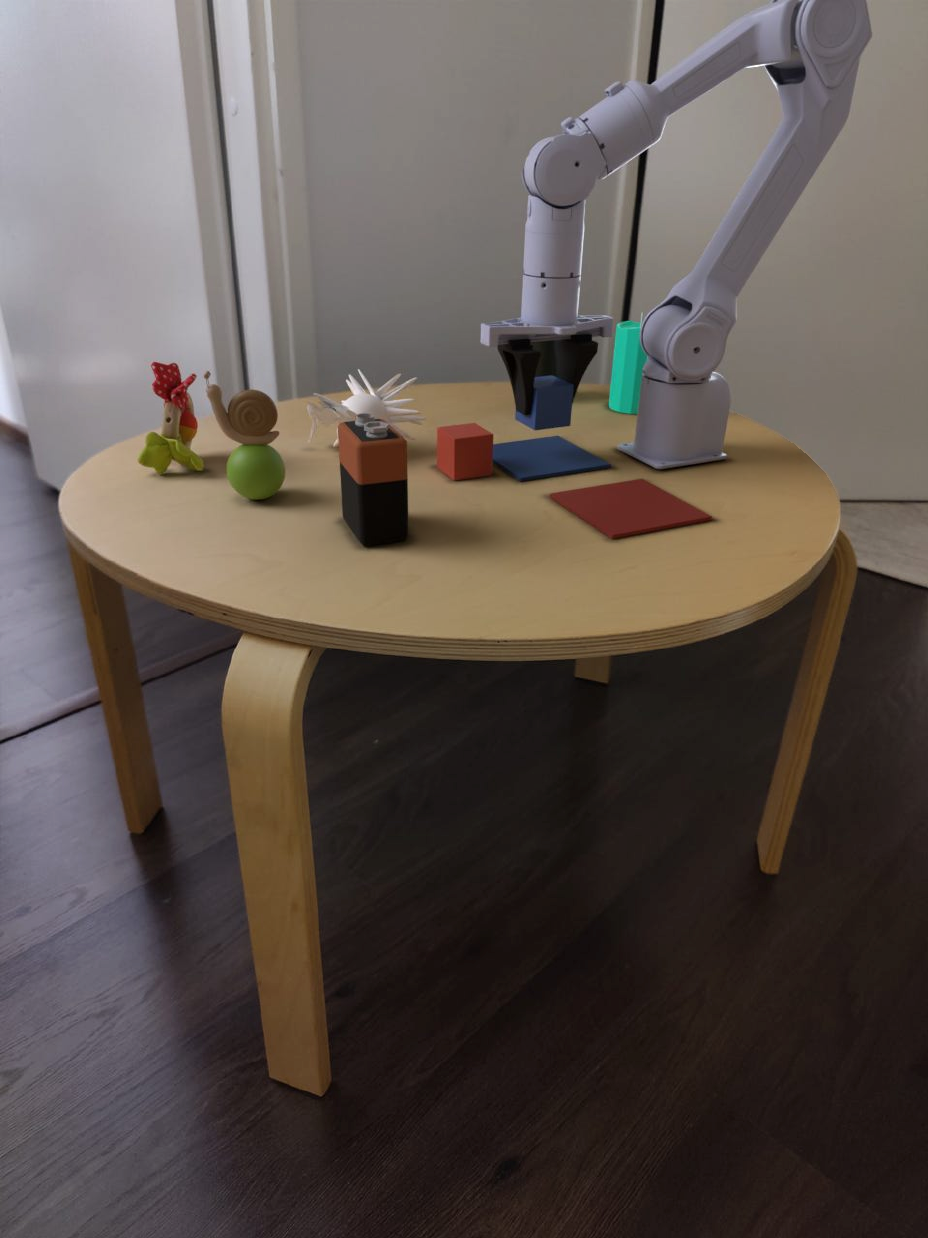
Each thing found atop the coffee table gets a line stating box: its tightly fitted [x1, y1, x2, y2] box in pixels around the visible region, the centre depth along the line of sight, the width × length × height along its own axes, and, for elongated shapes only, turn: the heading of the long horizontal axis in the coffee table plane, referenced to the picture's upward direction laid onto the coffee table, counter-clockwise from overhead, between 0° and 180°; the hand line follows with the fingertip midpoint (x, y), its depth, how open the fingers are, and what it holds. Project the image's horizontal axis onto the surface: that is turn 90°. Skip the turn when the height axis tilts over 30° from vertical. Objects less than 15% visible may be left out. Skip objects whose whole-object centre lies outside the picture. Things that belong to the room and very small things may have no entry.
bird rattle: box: [137, 361, 205, 475], centre depth 89 cm, size 6×11×9 cm
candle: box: [608, 311, 647, 415], centre depth 111 cm, size 6×6×12 cm
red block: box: [436, 422, 494, 481], centre depth 90 cm, size 4×4×4 cm
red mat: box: [549, 478, 713, 540], centre depth 82 cm, size 11×11×1 cm
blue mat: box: [492, 435, 611, 482], centre depth 95 cm, size 11×11×1 cm
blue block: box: [514, 376, 574, 431], centre depth 92 cm, size 4×4×4 cm
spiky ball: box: [306, 368, 427, 448], centre depth 94 cm, size 11×12×8 cm
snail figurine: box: [203, 370, 286, 501], centre depth 80 cm, size 5×6×12 cm
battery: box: [337, 413, 409, 547], centre depth 74 cm, size 4×7×10 cm, turn 21°
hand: (543, 410), depth 92 cm, fingers closed on blue block, 4 cm apart
